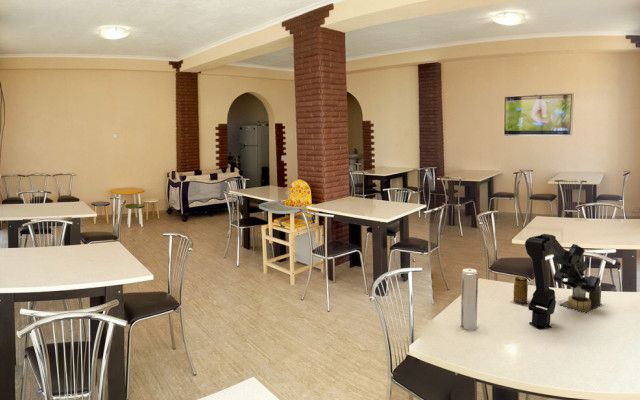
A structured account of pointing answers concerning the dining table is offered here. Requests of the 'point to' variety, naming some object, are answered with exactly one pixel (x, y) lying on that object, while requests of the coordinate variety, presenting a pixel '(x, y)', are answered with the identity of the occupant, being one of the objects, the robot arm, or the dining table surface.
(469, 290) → the silver cylinder
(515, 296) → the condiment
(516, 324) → the dining table surface
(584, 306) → the collar stand
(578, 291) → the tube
